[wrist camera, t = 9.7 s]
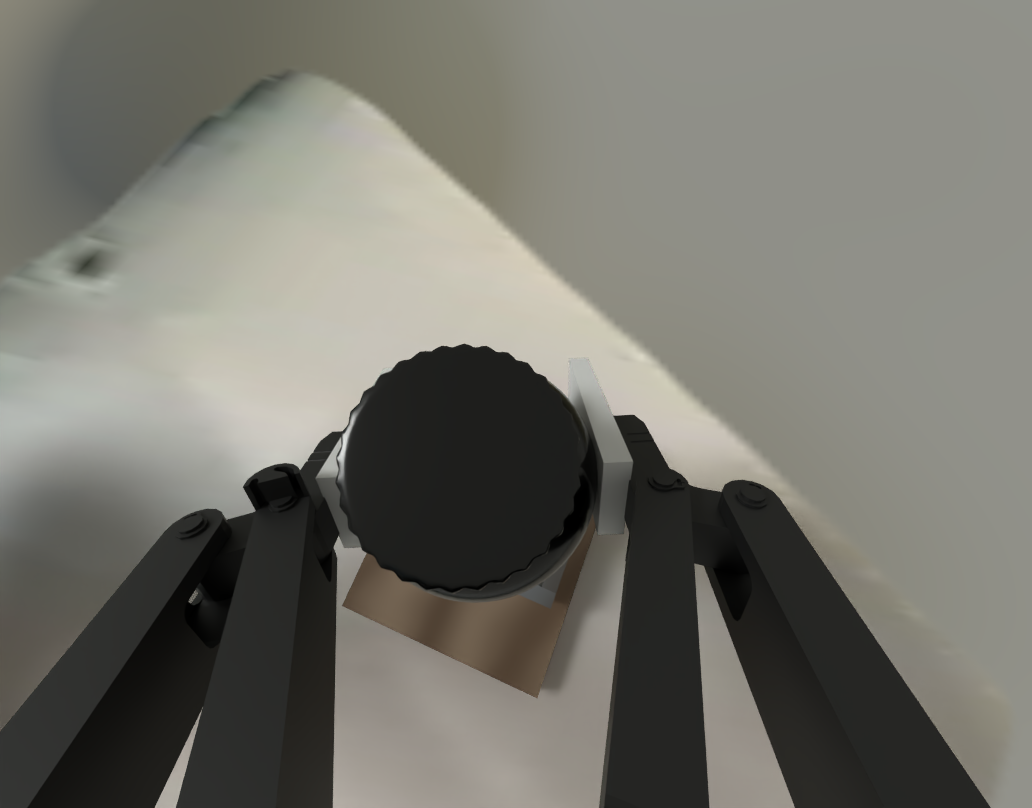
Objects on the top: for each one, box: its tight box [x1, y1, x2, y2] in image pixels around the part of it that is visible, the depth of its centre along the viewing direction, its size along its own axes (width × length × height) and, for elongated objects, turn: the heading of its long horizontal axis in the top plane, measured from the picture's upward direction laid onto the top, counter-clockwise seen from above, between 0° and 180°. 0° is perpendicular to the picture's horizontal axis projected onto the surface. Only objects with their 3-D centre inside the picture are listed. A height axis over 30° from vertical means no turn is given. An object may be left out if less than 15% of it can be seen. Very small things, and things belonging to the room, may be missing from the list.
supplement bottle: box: [335, 344, 598, 603], centre depth 13 cm, size 7×7×12 cm
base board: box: [342, 514, 596, 698], centre depth 29 cm, size 15×20×4 cm
